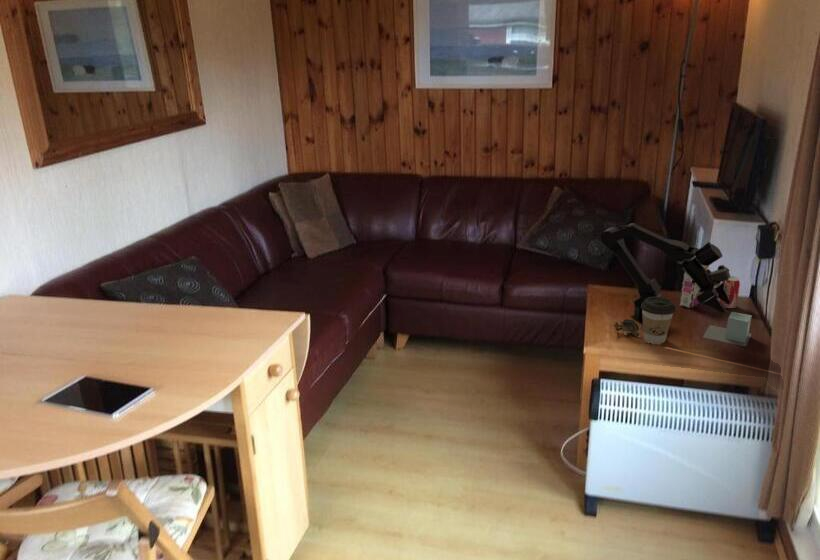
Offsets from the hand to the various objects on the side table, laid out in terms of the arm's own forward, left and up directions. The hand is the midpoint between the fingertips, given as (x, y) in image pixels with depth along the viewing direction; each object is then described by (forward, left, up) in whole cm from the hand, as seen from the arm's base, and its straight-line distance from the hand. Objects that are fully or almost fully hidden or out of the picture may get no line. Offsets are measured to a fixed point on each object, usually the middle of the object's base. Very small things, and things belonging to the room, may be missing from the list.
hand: (726, 307), depth 228 cm
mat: (+1, -1, -11) cm, 11 cm away
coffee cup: (-25, +4, -11) cm, 28 cm away
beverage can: (+20, +21, -11) cm, 31 cm away
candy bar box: (+9, +28, -11) cm, 32 cm away
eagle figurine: (-31, +11, -11) cm, 35 cm away
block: (+3, -4, -10) cm, 11 cm away
